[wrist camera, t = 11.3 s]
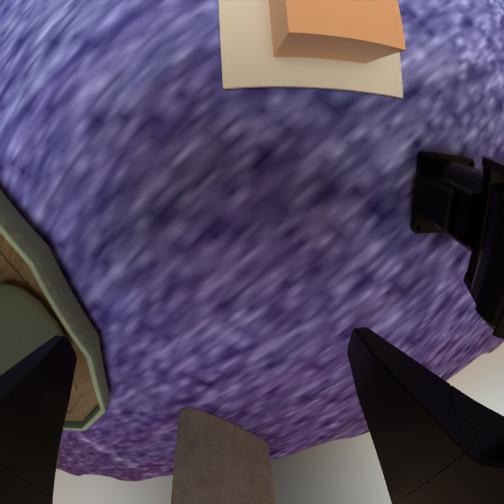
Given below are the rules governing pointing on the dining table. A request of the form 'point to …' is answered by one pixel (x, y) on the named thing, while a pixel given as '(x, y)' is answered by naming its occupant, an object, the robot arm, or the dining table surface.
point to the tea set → (46, 316)
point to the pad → (291, 58)
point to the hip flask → (219, 463)
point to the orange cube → (336, 29)
